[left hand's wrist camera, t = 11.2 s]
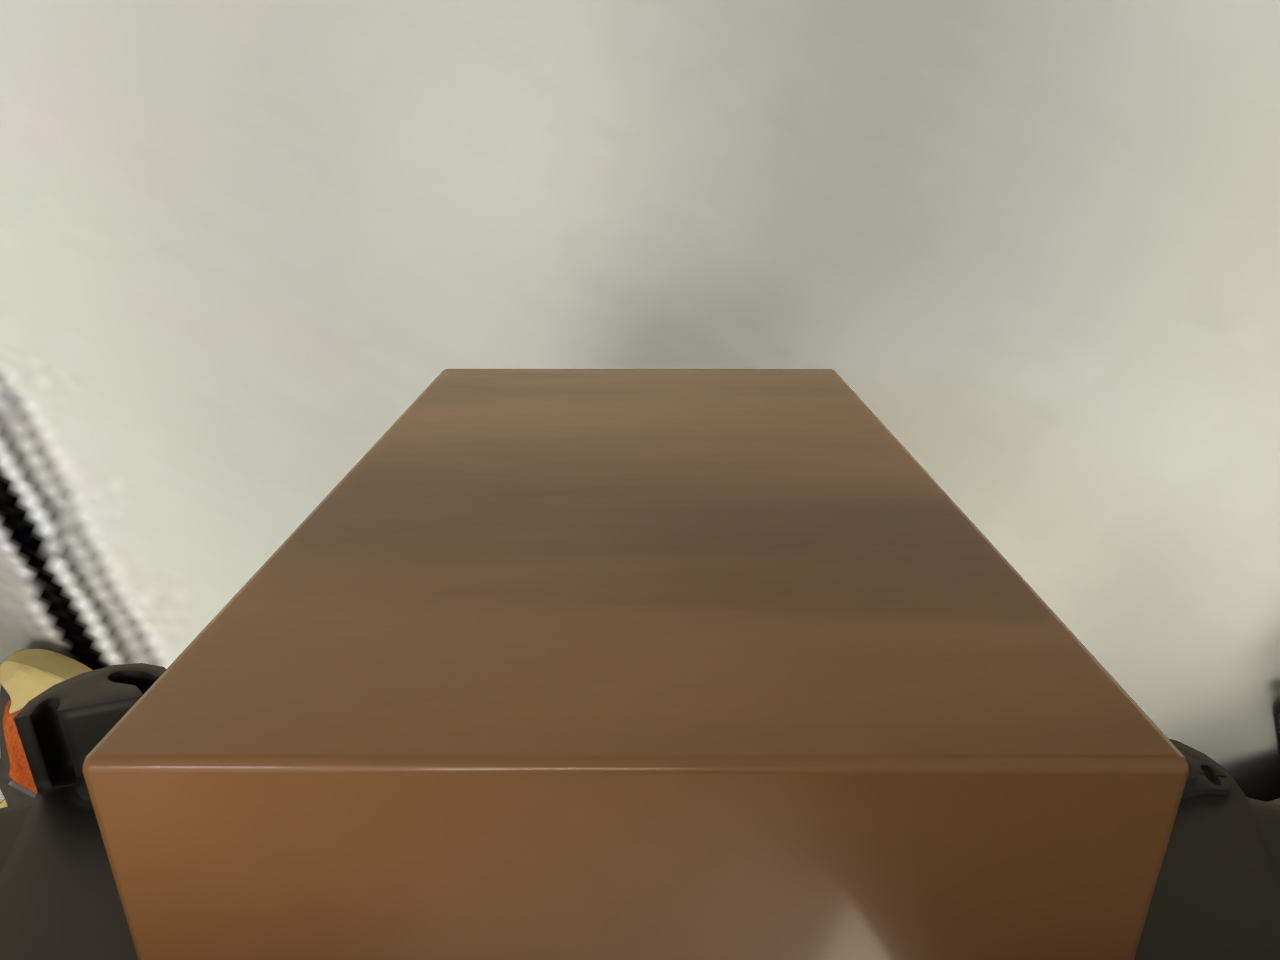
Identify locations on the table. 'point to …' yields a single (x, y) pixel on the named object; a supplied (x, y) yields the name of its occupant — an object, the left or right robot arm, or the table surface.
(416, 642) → the box
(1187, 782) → the left robot arm
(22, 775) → the toy gun
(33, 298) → the table surface
